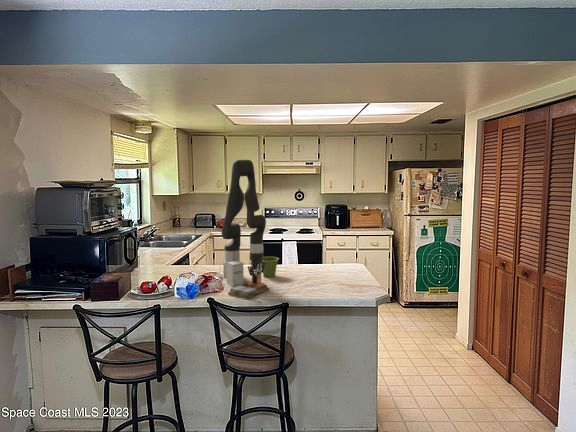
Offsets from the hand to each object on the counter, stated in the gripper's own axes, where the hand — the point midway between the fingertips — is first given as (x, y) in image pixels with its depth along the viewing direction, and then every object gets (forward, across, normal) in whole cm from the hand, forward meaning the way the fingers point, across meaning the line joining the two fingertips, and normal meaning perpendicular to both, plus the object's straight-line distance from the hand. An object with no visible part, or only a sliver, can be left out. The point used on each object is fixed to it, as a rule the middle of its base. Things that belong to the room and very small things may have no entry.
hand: (256, 281), depth 222 cm
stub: (+3, +1, 0) cm, 3 cm away
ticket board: (+4, +8, 0) cm, 9 cm away
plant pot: (+5, -26, -9) cm, 28 cm away
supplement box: (+5, -2, -17) cm, 18 cm away
